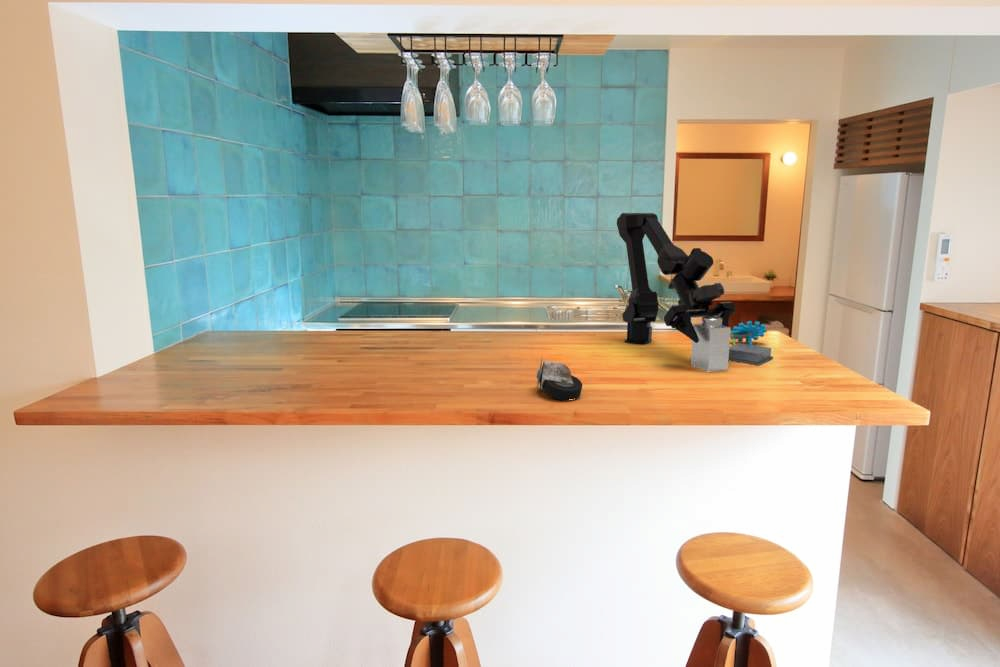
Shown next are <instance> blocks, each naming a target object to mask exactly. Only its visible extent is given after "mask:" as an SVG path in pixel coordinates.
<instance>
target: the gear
mask: <svg viewBox="0 0 1000 667" xmlns="http://www.w3.org/2000/svg"><path fill="white" fill-rule="evenodd" d="M732 329H733V330H731V331H730V340H732V345H733V344H737V343H736V340H737V341H738V342H743V341H744V340H745V342H746V341H748V342H747V343H748V345H754V344H753V340H754V341H758V340H759V337H760V338H763V337H764V336H765V333H767V328H766V324H764V323H762V324H761V323H760V321H754V325H753V323H752V320H748V321H746V324H744V323H743V322H740V323H738V326H735V325H734V326H733V328H732ZM743 339H744V340H743Z"/></svg>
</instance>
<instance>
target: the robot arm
mask: <svg viewBox="0 0 1000 667" xmlns="http://www.w3.org/2000/svg"><path fill="white" fill-rule="evenodd" d="M657 215H658V214H656V213H654V212H622V213H621V214H620V215H619V217H617V219H616V227H617V230H618V234H619V237H620V238H621V239H622V241H624V243H625V245H626V246H625V247H626V253H627V260H628V267H629V275H630V282H631V292H630V294H629V296H628V299H627V302H628V303H627V304H628V305H627V307H626V309H625V310H624V311H623V313H622V320H623V322H625V323H627V326H626V339H625V340H624V342H625V343H633V344H640V345H646V344H648V343H650V342H651V341H653V327H652V326H651V325H652V324H651V323H655V322H656V321H657V320H656V319H657V317H658V313H659V310H660V309H659V305H660V303H659V301H658V293H657V291H653V290H652V288H650V284H649V279H648V271H647V270H648V269H647V264H646V263H647V262H646V256H645V249H644V242H643V240H644V237H645V236H646V237H647V239H648V241H649V242H650V244H651V245H652V247H653V249H654V251H655V252H656V254H657V261H656V262H657V265H658V268H659V269H660V271H661V274H663V275H665V276H671V275H672V276H673V275H674V276H673V278H671V279H670V282H669V284H668V289H669V290H675V291H676V294H677V296H678V298H679V300H678V301H677V303H678V304H675V305H671V307H669V309H668V310H667V312H666V313H665V314H664V316H663V321H664V324H665V326H666V327H671V329H675V330H677V331H678V332H680V333H682V334H683V335H685V336H686V337H688V339H690V340H691V341H692V340H693V341H694V342H695V343H698V342H699V338H698V336H697V333H696V331H695V329H694V327H693V323H692V318H693V319H694V318H702V317H706V316H713V317H720V318H722V325H723V326H727V327H730V325H729V324H730V323H729V321H730V320H729V319H730V317H731V316H732V315H733V314H734V313H735V312H736V311H737V308H736V306H735V304H734V303H733V302H732V301H723V302H722V301H721V302H718V303H717V304H716V306H714V307H713V308H710V306H712V305H713V304H714V302H713V301H714V300H715V299H720V298H721V296H723V295H724V294H725V289H724V286H723V285H722V283H721V282H715V283H714V284H705V285H702V286H699V284H698V281H701V280H702V279H703V278H704V277H705V275H706V274H707V273H708V271H709V270H710V269H711V268H712V267H713V265H714V259H713V256H711V255H710V254H709V253H707V252H706V251H703V250H702V249H701V248H700V247H693V248H692V250H691V251H690V253H689V255H688V254H687V253H686V252H685V251H684V250H683V249H682V248H680V247H678V246H676V245H675V244H674V243H673V242H672V240H671V239H670V237H669V236H668V234H667V232H666V230H665V229H664V227H663V226H662V225H661V222H659V218H658V216H657Z"/></svg>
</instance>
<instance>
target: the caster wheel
mask: <svg viewBox="0 0 1000 667" xmlns="http://www.w3.org/2000/svg"><path fill="white" fill-rule="evenodd" d="M539 364H540V365H539V369H538V370H537V371H536V379H537V381H536V382H537V383H536V392H538V390H539V388H540V389H541V391H543V392H544V393H546V395H548V396H549V397H551V398H553V399H556V400H558V401H564V400H569V399H574V398H577V399H579V398H580V397H581V394H582V390H583V382H582V381H581V380H580V379H579V378H578V377H576V376H574V375H573V374H571V369H570V368H569V366H567V365H566V364H565V363H561V362H556V361H555V362H553V361H547V360H543V357H541V359H540V363H539ZM579 396H580V397H579ZM578 397H579V398H578Z"/></svg>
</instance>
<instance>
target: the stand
mask: <svg viewBox="0 0 1000 667" xmlns="http://www.w3.org/2000/svg"><path fill="white" fill-rule="evenodd" d="M771 355H772V347H767V346H761V345H755V344H753V345H749V343H748V344H747V343H742V342H741V343H740V342H738V343H736V344H735V345H733V344H732V345H729V359H728V360H731V361H730V362H734V361H737V362H736V363H740V362H743V363H742V364H746V363H749V364H748V365H752V364H755V365H754V366H758V365H759V366H761V365H763V364H765V363H768V362H769V361H771V360H773V359H774V356H771ZM760 364H761V365H760Z"/></svg>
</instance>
